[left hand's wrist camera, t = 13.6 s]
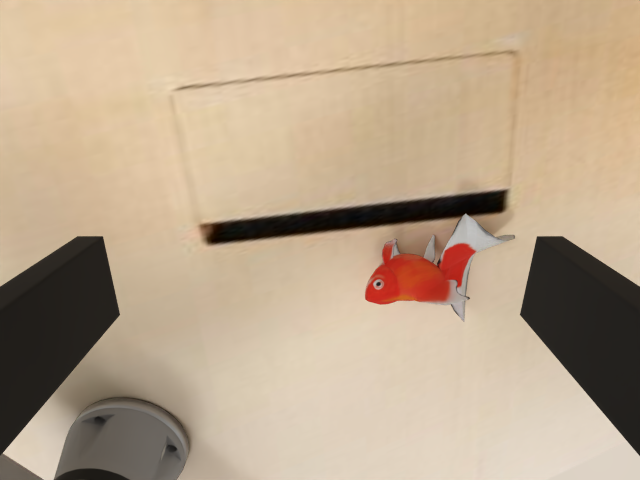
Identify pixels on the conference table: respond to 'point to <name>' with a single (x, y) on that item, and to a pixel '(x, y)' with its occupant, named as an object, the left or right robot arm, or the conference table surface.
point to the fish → (431, 269)
